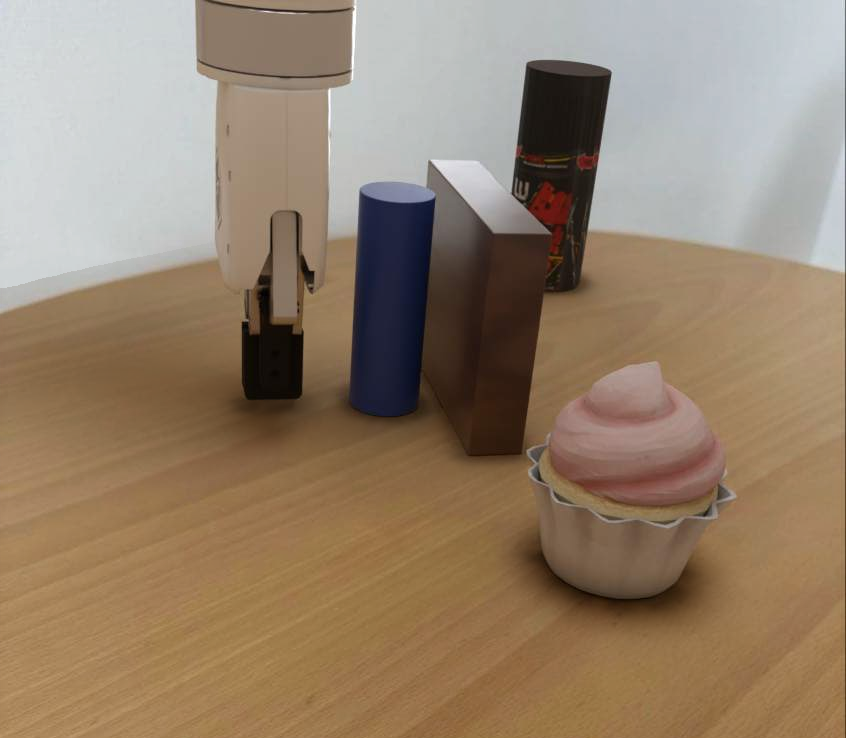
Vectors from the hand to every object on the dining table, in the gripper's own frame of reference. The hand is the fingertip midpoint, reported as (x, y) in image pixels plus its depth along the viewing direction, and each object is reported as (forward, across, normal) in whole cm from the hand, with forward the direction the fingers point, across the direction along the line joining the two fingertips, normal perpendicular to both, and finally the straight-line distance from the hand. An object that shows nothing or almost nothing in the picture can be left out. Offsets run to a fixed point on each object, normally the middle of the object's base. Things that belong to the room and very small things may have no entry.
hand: (271, 393), depth 65 cm
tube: (-5, 0, +6) cm, 8 cm away
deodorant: (+1, -21, +23) cm, 31 cm away
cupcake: (+1, +18, +14) cm, 23 cm away
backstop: (+1, 0, +11) cm, 11 cm away
